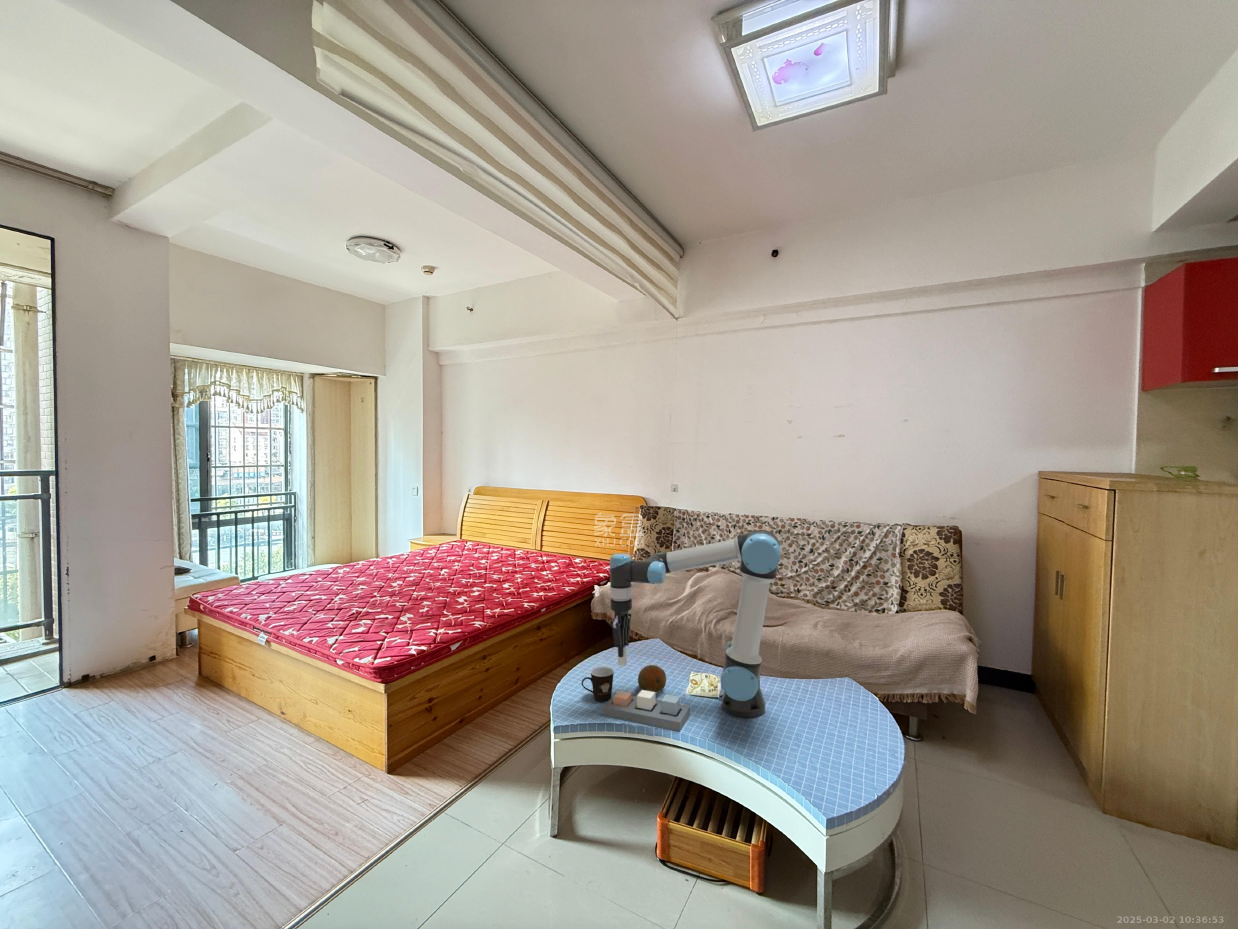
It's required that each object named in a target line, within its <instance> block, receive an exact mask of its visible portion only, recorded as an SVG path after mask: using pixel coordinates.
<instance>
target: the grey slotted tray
mask: <svg viewBox="0 0 1238 929" xmlns="http://www.w3.org/2000/svg"><path fill="white" fill-rule="evenodd" d="M617 692H618V691H617ZM617 692H615V693H614V695H615V694H616V693H617ZM614 695H613V696H614ZM613 696H611V699H610V700H609V701H608V702H605V703H604V704H603V705H602V716H603V717H608V718H613V719H616V720H617V719H618V720H623V721H628V722H633V723H636V724H637V723H638V724H642V725H647V726H650V727H651V726H652V727H656V728H661V729H666V730H671V731H675V732H681V731H682V729H683V728H684V726H685V724H686V723H687V721H688V720H689V718H690V717H691V705H686V704H682V703H680V710H679V711H678V713H677V714H676V715H673V714H668V713H663V712H662V699H661V700H660V699H656V704H655V705H654V706H653V708H652V709H651V710H647V709H642V708H637V695H634V694H633V695H632V702H631V704H630V705H629V706H628V707H623V706H618V705H613Z"/></svg>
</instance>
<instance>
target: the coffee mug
mask: <svg viewBox="0 0 1238 929" xmlns="http://www.w3.org/2000/svg"><path fill="white" fill-rule="evenodd" d="M614 673H615V671H614V669H613V668H611V667H608V666H598V667H595V668H593V669H591V670H590V676H586V677H584V678H583V679H582V680H581V686H582V687H583V689H585V690H586V691H588V692H590V693H592V694H593V700H594V701H595V702H597V703H607V702H608V701H609V700H610V699H611V698H612V695H613V684H614V683H613V681H614ZM586 680H589V681H590V682H591V686H592V689H591V688H587V687H586V686H585V685H584V681H586Z"/></svg>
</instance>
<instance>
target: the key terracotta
mask: <svg viewBox="0 0 1238 929" xmlns="http://www.w3.org/2000/svg"><path fill="white" fill-rule="evenodd" d="M615 693H616V692H615ZM615 693H614V694H615ZM632 694H633V693H632V692H628V691H624V690H618V691H617V693H616V694H615V695H613V696H612V697H613V705H618V706H623V707H628V706H629V705H630V704H631V702H632Z"/></svg>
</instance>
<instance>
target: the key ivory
mask: <svg viewBox="0 0 1238 929" xmlns="http://www.w3.org/2000/svg"><path fill="white" fill-rule="evenodd" d="M636 696H637V708H642V709H647V710H651V709H652V708H653V706H654V705H655V704H656V700H657V699H656V693H655V692H651V691H646V690H642V689H641V690H640V691H639V693H638V694H637V695H636ZM642 709H641V710H642ZM647 710H646V711H647Z"/></svg>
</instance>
